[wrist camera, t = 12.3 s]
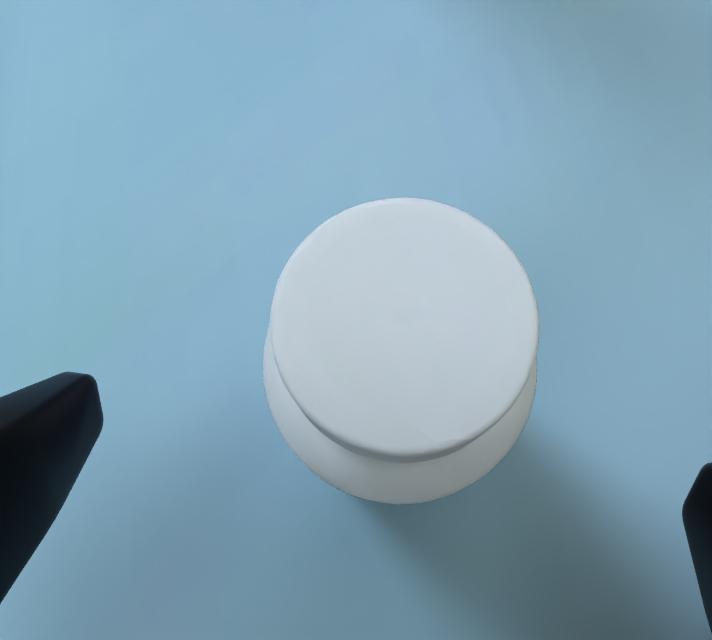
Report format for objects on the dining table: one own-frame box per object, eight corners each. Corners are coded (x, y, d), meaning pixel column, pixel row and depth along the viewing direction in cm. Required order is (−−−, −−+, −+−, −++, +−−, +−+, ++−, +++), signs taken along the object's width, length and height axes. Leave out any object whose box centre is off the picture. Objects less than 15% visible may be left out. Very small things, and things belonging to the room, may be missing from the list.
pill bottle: (368, 534, 16) (350, 599, 7) (275, 385, 18) (157, 273, 8) (513, 431, 17) (675, 366, 8) (413, 295, 18) (445, 99, 9)
